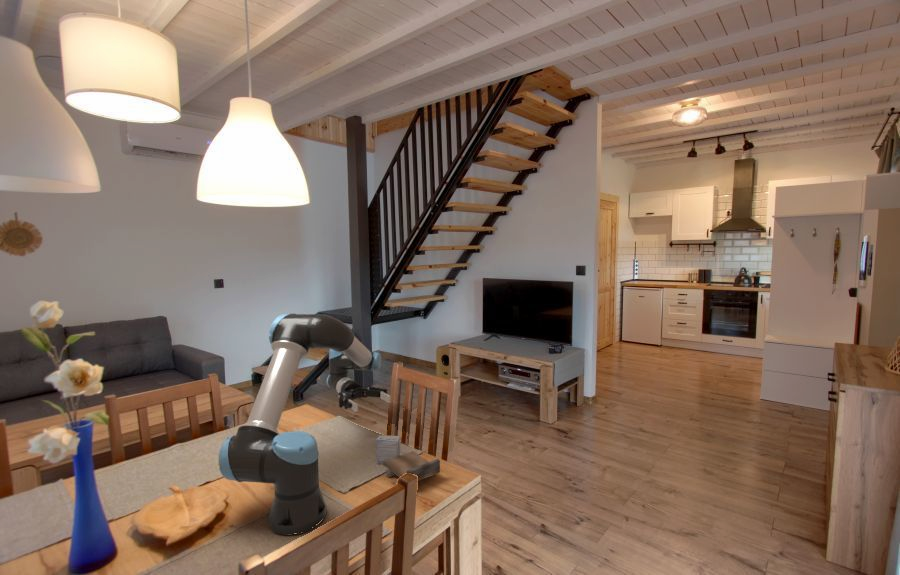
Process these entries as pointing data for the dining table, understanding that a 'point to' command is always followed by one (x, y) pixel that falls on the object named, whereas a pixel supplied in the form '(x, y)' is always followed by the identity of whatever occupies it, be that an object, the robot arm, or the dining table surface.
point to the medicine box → (387, 448)
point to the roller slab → (411, 466)
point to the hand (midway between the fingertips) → (373, 403)
